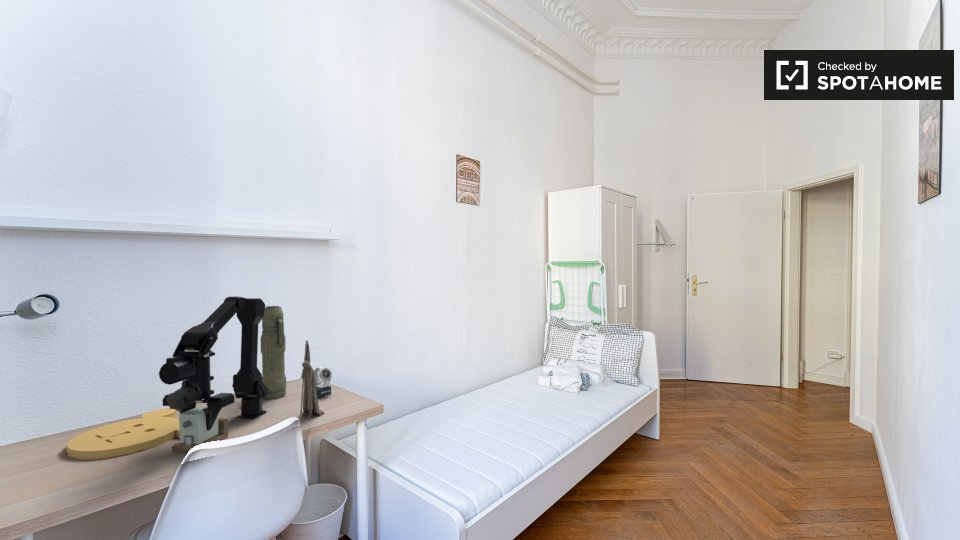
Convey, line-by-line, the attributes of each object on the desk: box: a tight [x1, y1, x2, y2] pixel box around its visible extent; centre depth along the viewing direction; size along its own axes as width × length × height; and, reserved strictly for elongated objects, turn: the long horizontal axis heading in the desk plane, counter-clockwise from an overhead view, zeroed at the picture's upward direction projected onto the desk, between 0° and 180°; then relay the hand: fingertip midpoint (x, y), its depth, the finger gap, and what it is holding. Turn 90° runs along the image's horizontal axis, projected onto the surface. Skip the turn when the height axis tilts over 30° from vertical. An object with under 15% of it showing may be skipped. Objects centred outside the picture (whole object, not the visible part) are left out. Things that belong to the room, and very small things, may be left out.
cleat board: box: [171, 417, 229, 453], centre depth 122 cm, size 11×8×6 cm
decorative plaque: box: [66, 408, 180, 460], centre depth 127 cm, size 31×3×30 cm
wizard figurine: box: [299, 340, 325, 419], centre depth 146 cm, size 10×8×25 cm
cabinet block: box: [178, 405, 219, 444], centre depth 121 cm, size 8×6×8 cm
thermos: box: [260, 305, 287, 400], centre depth 167 cm, size 9×12×35 cm
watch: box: [313, 366, 333, 399], centre depth 167 cm, size 6×8×11 cm
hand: (199, 429), depth 121 cm, fingers closed on cabinet block, 6 cm apart
